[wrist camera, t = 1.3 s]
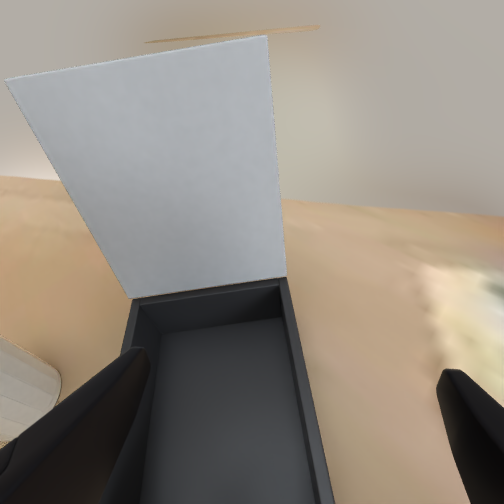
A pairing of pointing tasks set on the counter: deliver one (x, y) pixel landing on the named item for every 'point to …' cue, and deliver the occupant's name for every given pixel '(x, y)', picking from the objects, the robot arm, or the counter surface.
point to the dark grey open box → (221, 403)
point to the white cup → (24, 389)
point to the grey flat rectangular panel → (168, 162)
